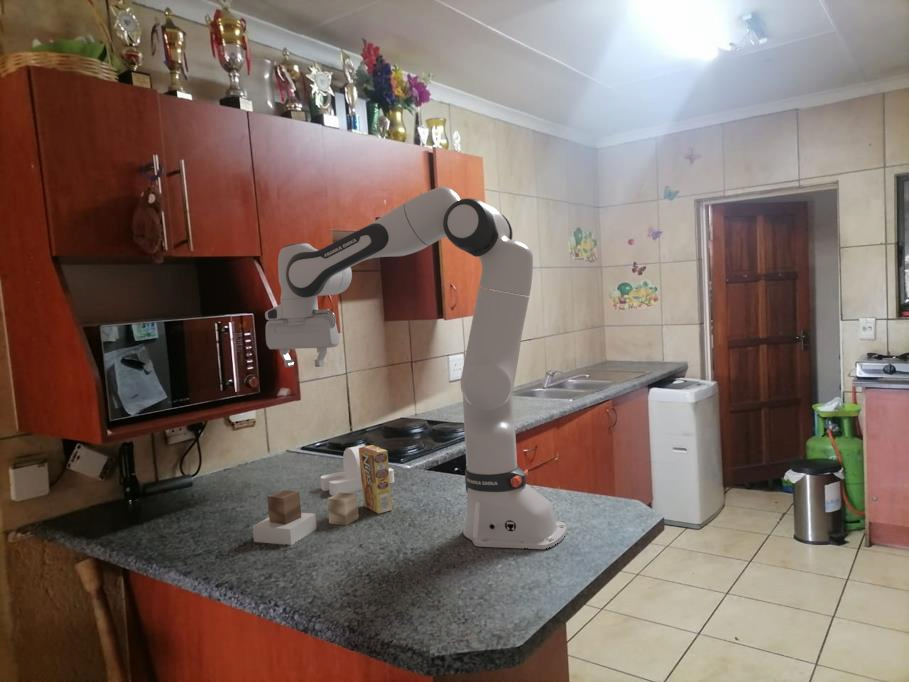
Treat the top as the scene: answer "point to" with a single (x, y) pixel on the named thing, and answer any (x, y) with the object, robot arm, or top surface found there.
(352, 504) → the beech block
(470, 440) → the robot arm
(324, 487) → the bracket
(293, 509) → the walnut block
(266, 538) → the stone slab
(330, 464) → the top surface
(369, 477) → the candy box
